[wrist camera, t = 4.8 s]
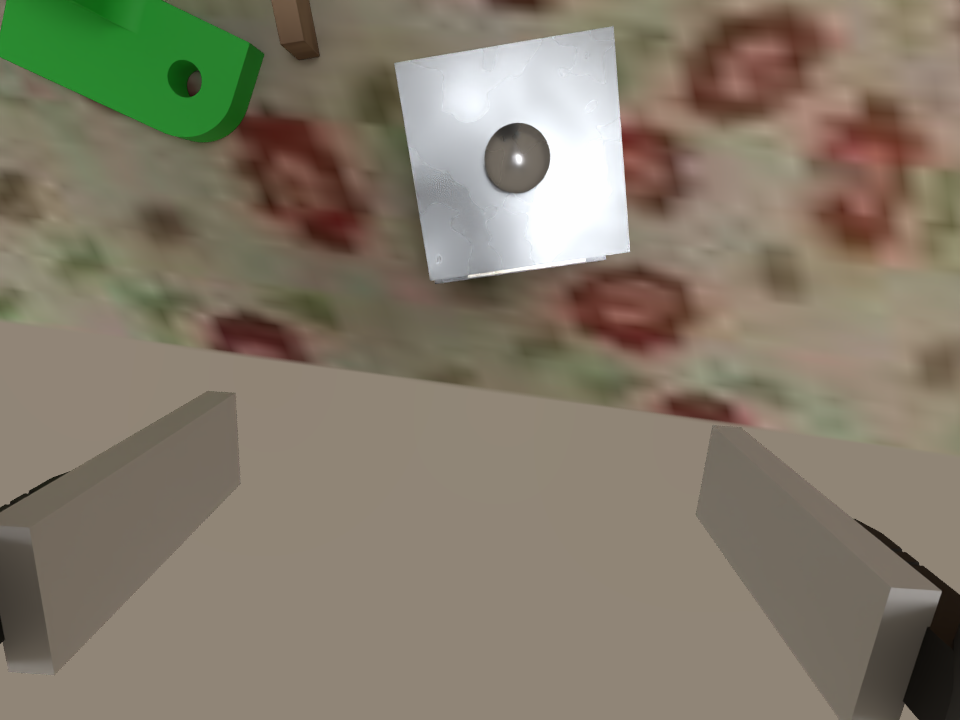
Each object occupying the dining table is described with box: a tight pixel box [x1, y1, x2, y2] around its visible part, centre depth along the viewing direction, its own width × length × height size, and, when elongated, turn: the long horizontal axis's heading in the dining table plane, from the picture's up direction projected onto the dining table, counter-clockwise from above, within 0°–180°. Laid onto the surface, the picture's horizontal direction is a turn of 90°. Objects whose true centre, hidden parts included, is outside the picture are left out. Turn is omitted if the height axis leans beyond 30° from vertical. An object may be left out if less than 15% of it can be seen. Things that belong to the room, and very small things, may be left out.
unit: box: [394, 26, 630, 284], centre depth 25 cm, size 10×10×11 cm
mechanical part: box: [0, 0, 264, 142], centre depth 25 cm, size 12×6×8 cm, turn 65°
